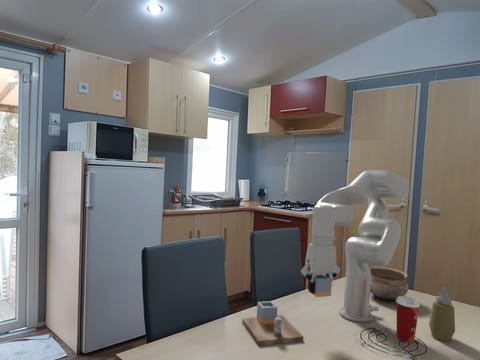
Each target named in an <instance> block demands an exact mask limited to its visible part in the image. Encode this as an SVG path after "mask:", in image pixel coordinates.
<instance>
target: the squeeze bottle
mask: <svg viewBox="0 0 480 360" xmlns="http://www.w3.org/2000/svg"><path fill="white" fill-rule="evenodd" d="M455 315H456V314H455V307H454V306H453V303H452V298H451V297H449V293H448V288H447V287H442V290H441V293H440V295H437V296H436V300H435V301H434V302H433V303H432V308H431V312H430V319H429V322H428V326H429V329H430V332H431V333H430V334H431V335H432V337H433V338H435V339H436V340H439V341H442V342H450V341H451V340H452V338H453V336H454V334H455V332H456V322H455V321H456V318H455V317H456V316H455Z"/></svg>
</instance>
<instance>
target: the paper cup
mask: <svg viewBox="0 0 480 360" xmlns="http://www.w3.org/2000/svg"><path fill="white" fill-rule="evenodd" d="M395 302H396V338H397V339H398V340H399V341H401V342H404V343H411V344H412V343H414V342H415V339H416V330H417V326H418V325H417V324H418V319H419V312H420V311H419V309H420V307H421V304H420V301H419V300H418V299H417V298H414V297H412V296H409V295H408V296H407V295H404V296H398V298H397V299H395Z"/></svg>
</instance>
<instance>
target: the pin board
mask: <svg viewBox="0 0 480 360" xmlns="http://www.w3.org/2000/svg"><path fill="white" fill-rule="evenodd" d="M264 307H269V306H264ZM241 322H242V324H243V325H244V328H246V330H247V331H248V333H249V334H250V336H251V337H252V338H253V339H252V340H254V341H255V343H256V344H257V345H258V346H267V345H277V344H285V343H296V342H304V335H303V334H302V333H301V332H300V331H299V329H297V328H296V327H295V326H294V325H293V324H292V323H291V322H290V321H289V320H288V319H287V318H286V317H285V316H284V315H283V314H279V315H278V314H277V318H275V321H274V324H265V325H262V324H261V323H260V322H259V320H258V319H257V316H255V317H253V316H252V317H242V321H241Z"/></svg>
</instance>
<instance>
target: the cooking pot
mask: <svg viewBox="0 0 480 360" xmlns="http://www.w3.org/2000/svg"><path fill="white" fill-rule="evenodd" d="M369 268H370V271H371V284H370V294H372V295H373V296H375V297H377V298H378V299H380V300H382V301H387V302H391V301H393V300H396V299H397V298H398V296H406V294H407V293H408V292H409V288H410V287H409V281H408V279H407V277H408V276H409V275H408V274H407V273H406V272H404V271H401V270H398V269H395V268H390V267H387V266H385V267H379V266H369Z"/></svg>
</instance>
